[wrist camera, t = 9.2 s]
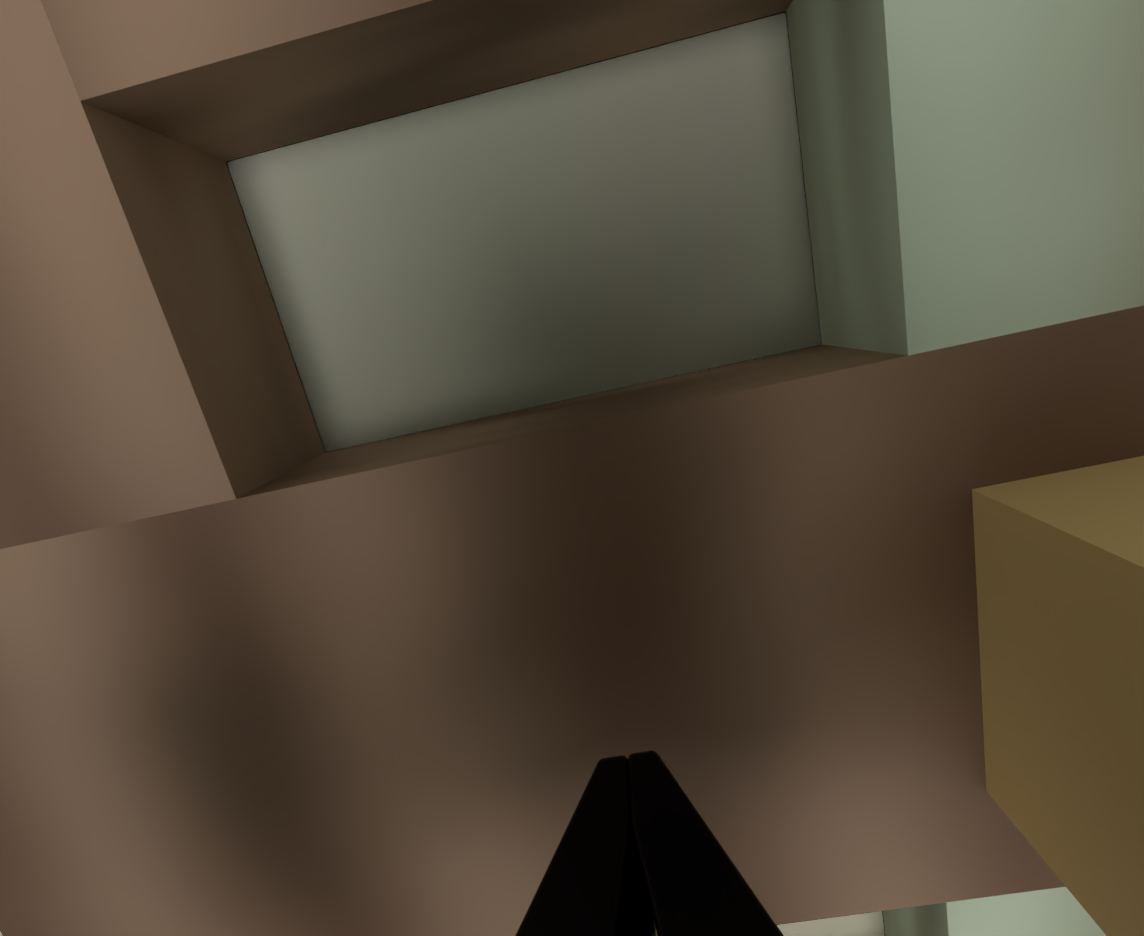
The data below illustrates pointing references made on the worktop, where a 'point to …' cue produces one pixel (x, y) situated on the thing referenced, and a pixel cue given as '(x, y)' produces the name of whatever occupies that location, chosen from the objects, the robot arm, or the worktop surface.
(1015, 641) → the ochre block
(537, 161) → the worktop surface
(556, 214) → the worktop surface
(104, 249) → the trap board
